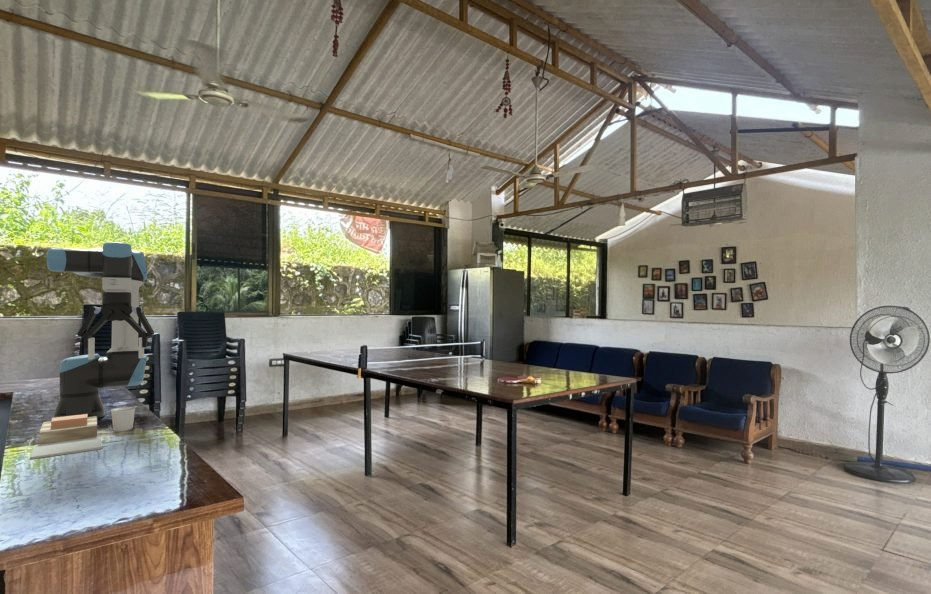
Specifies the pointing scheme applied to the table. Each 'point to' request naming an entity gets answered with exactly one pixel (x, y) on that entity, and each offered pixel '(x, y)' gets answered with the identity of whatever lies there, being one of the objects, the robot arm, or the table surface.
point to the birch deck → (68, 432)
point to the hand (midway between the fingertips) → (116, 358)
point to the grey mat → (66, 447)
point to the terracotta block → (69, 421)
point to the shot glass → (122, 418)
